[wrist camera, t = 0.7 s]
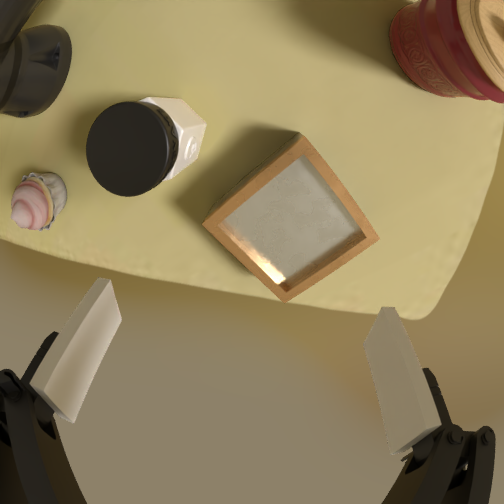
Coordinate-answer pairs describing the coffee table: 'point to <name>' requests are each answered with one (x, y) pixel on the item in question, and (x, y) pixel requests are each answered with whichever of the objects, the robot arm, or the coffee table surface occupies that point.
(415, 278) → the coffee table surface
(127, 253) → the coffee table surface
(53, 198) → the cupcake
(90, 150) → the jar
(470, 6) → the canister
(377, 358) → the robot arm
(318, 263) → the small square box
